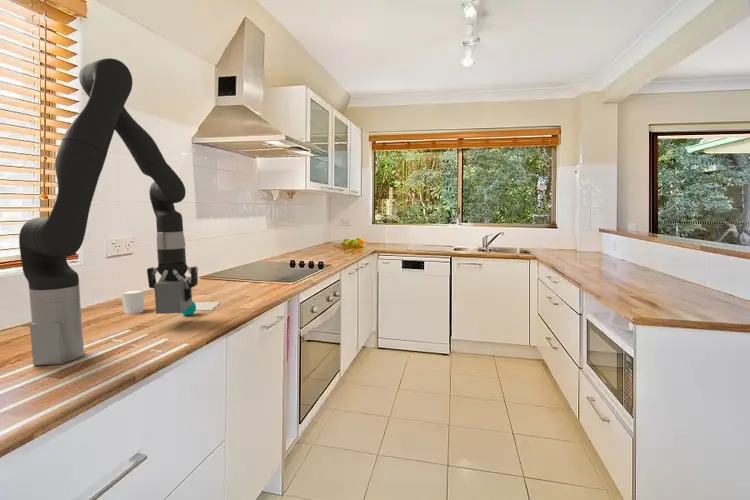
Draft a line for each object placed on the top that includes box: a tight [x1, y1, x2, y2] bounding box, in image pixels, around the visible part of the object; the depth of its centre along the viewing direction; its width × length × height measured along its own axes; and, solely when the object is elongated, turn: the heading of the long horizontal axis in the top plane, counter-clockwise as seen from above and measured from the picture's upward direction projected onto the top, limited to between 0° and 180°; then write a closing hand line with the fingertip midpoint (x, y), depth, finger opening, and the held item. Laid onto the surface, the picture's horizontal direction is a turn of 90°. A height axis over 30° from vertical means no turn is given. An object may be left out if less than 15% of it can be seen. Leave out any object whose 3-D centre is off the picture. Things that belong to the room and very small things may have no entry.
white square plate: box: [194, 301, 221, 312], centre depth 149 cm, size 12×12×1 cm
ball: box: [180, 300, 196, 316], centre depth 137 cm, size 5×5×5 cm
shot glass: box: [121, 289, 145, 315], centre depth 141 cm, size 7×7×7 cm
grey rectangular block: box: [153, 276, 193, 315], centre depth 125 cm, size 11×7×9 cm, turn 7°
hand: (174, 301), depth 125 cm, fingers closed on grey rectangular block, 7 cm apart
